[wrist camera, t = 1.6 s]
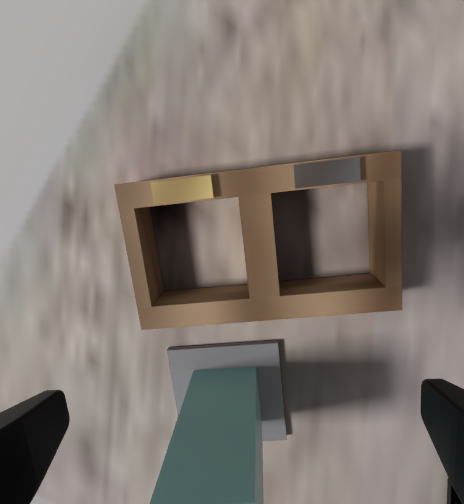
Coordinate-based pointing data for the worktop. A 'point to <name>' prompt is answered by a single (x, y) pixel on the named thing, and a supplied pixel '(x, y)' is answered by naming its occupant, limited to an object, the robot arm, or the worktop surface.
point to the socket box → (267, 244)
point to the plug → (215, 442)
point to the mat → (234, 357)
